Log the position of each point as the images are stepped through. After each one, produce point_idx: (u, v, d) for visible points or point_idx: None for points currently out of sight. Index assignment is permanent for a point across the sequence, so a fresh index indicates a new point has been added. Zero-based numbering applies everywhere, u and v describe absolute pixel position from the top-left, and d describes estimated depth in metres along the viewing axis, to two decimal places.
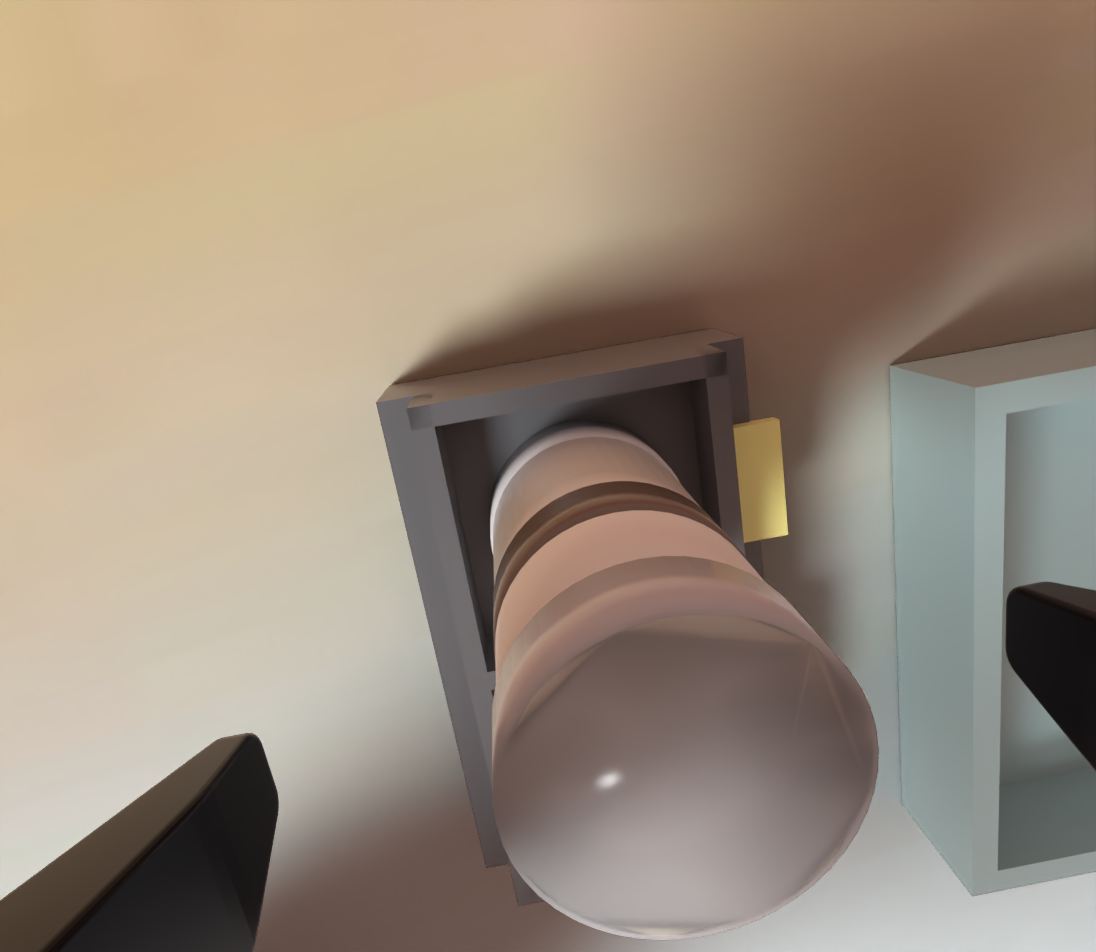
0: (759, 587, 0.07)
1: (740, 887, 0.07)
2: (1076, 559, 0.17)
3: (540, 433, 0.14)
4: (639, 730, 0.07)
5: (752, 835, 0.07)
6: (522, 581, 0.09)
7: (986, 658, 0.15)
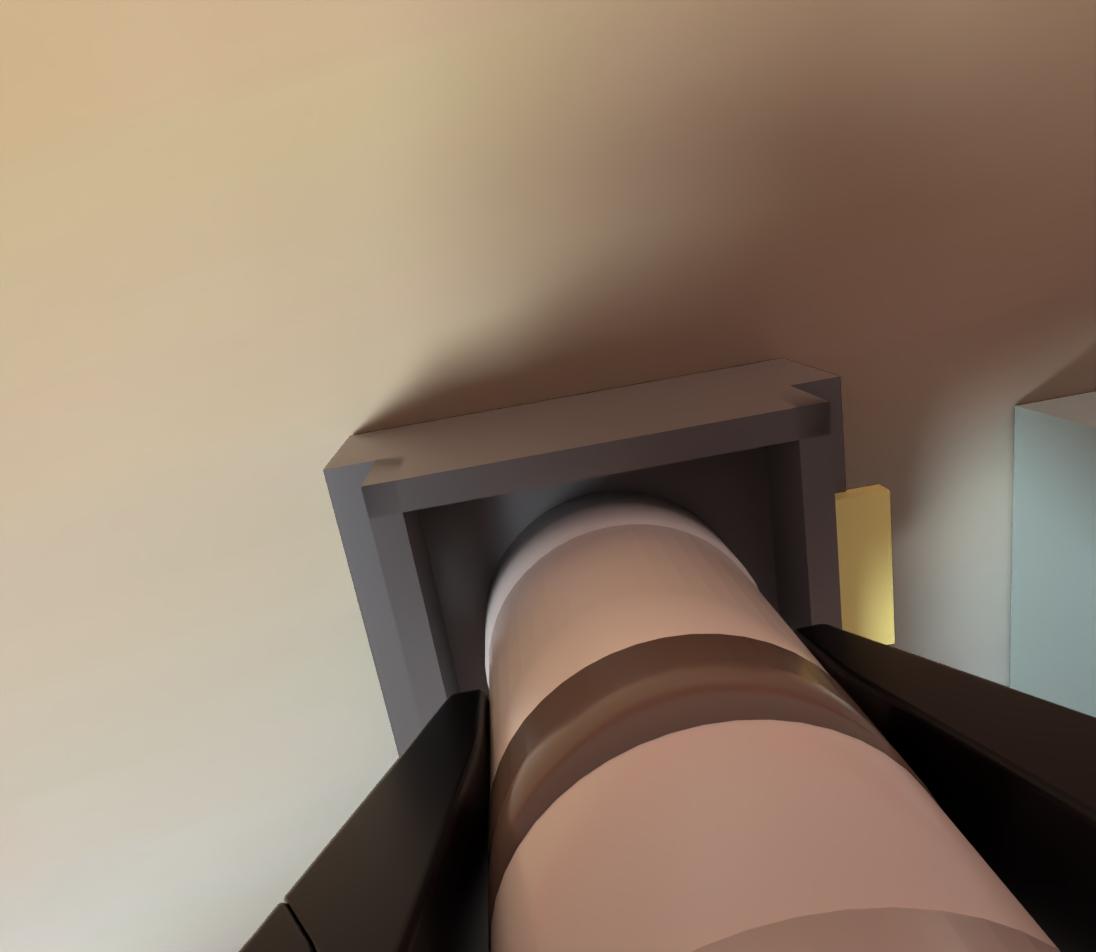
0: None
1: None
2: None
3: (555, 511, 0.10)
4: None
5: None
6: (540, 862, 0.05)
7: None
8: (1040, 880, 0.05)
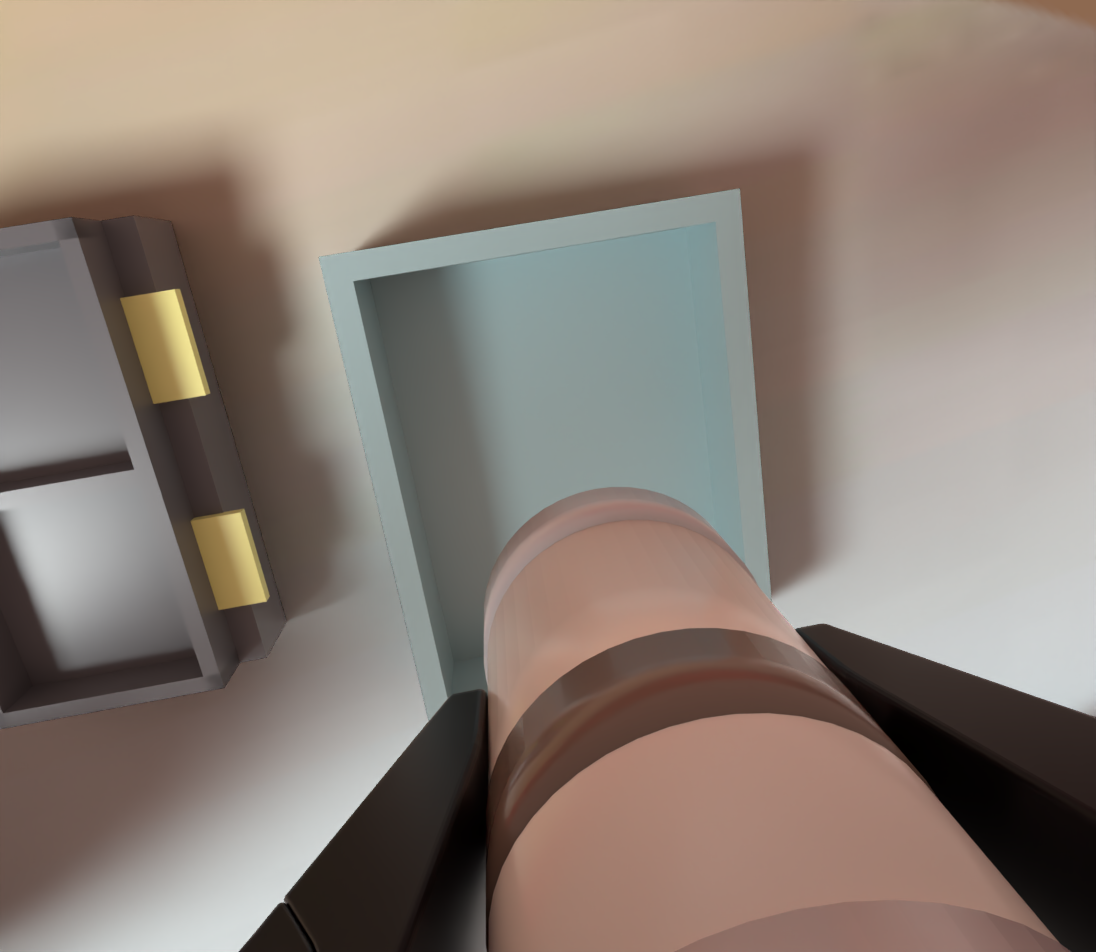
0: None
1: None
2: (539, 438, 0.20)
3: (554, 507, 0.10)
4: None
5: None
6: (537, 856, 0.05)
7: (390, 507, 0.17)
8: (1040, 880, 0.05)
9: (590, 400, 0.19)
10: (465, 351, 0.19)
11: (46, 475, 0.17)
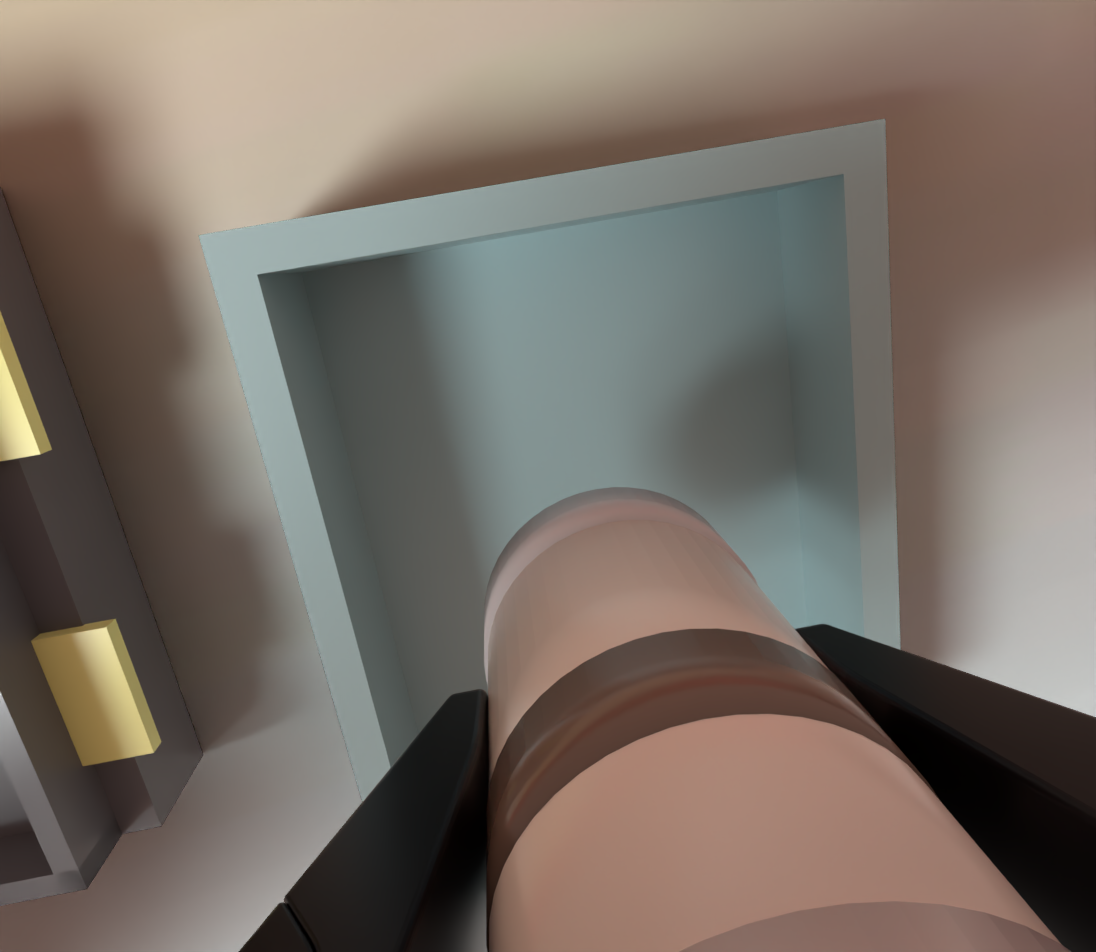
0: None
1: None
2: (557, 501, 0.13)
3: (555, 507, 0.10)
4: None
5: None
6: (538, 857, 0.05)
7: (329, 623, 0.11)
8: (1040, 880, 0.05)
9: (631, 447, 0.13)
10: (447, 378, 0.13)
11: None
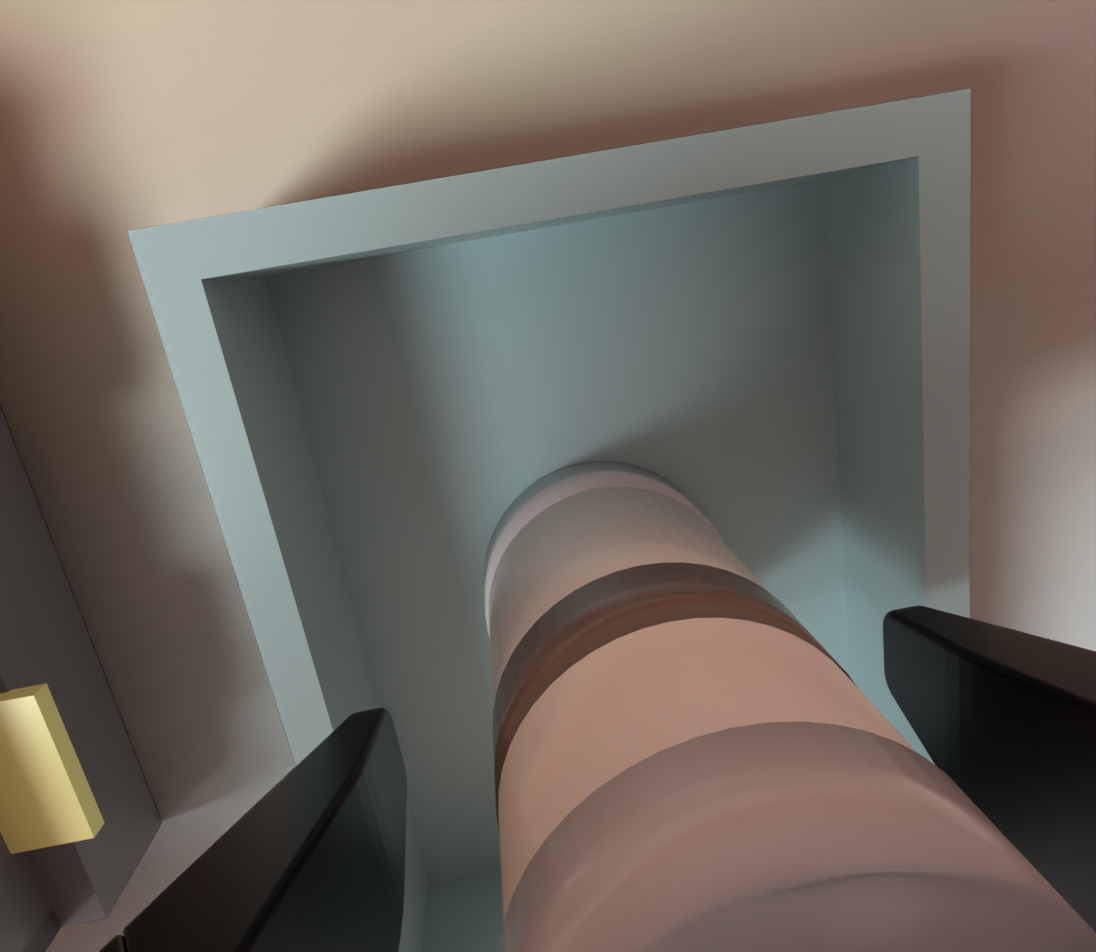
0: (928, 779, 0.05)
1: None
2: None
3: (546, 479, 0.11)
4: None
5: None
6: (539, 727, 0.06)
7: (296, 694, 0.09)
8: None
9: None
10: (437, 399, 0.11)
11: None
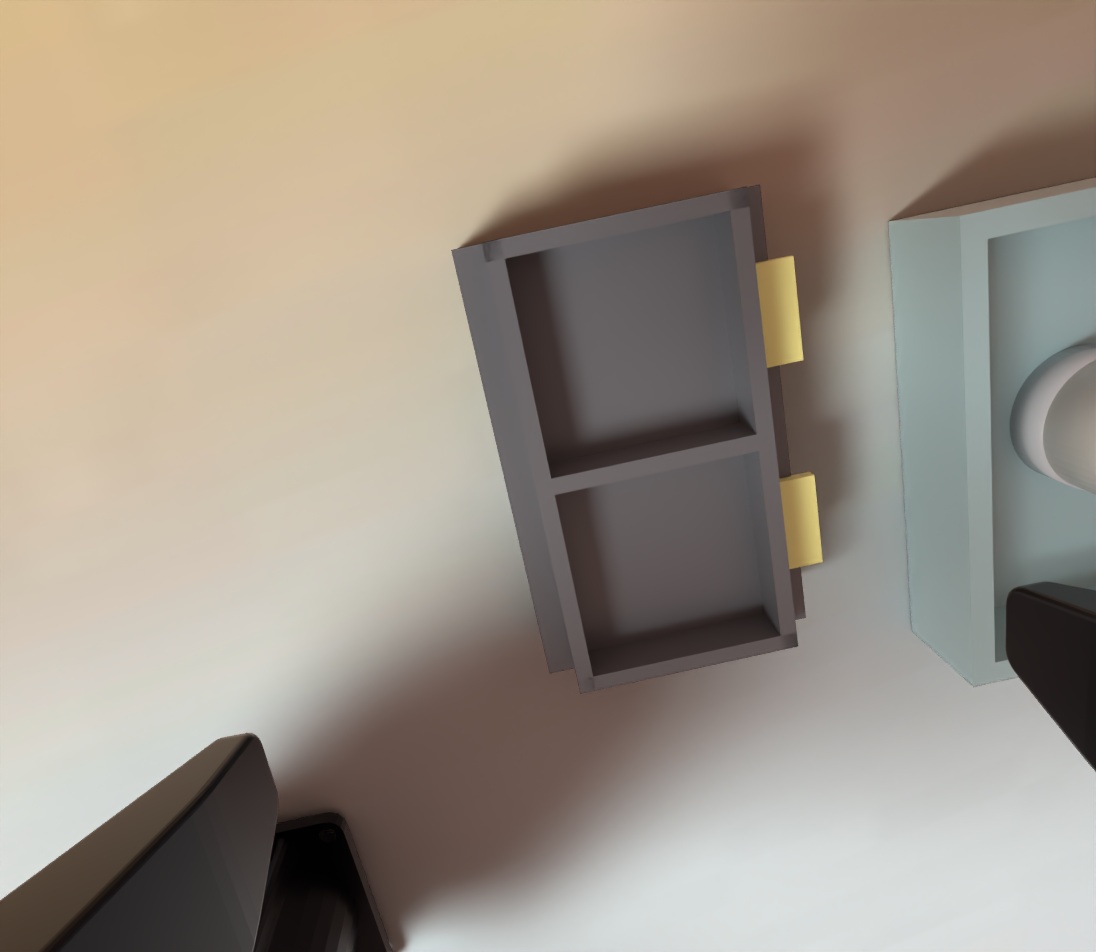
0: None
1: None
2: None
3: (1060, 354, 0.19)
4: None
5: None
6: None
7: (978, 463, 0.18)
8: None
9: None
10: (1004, 309, 0.19)
11: (637, 445, 0.18)
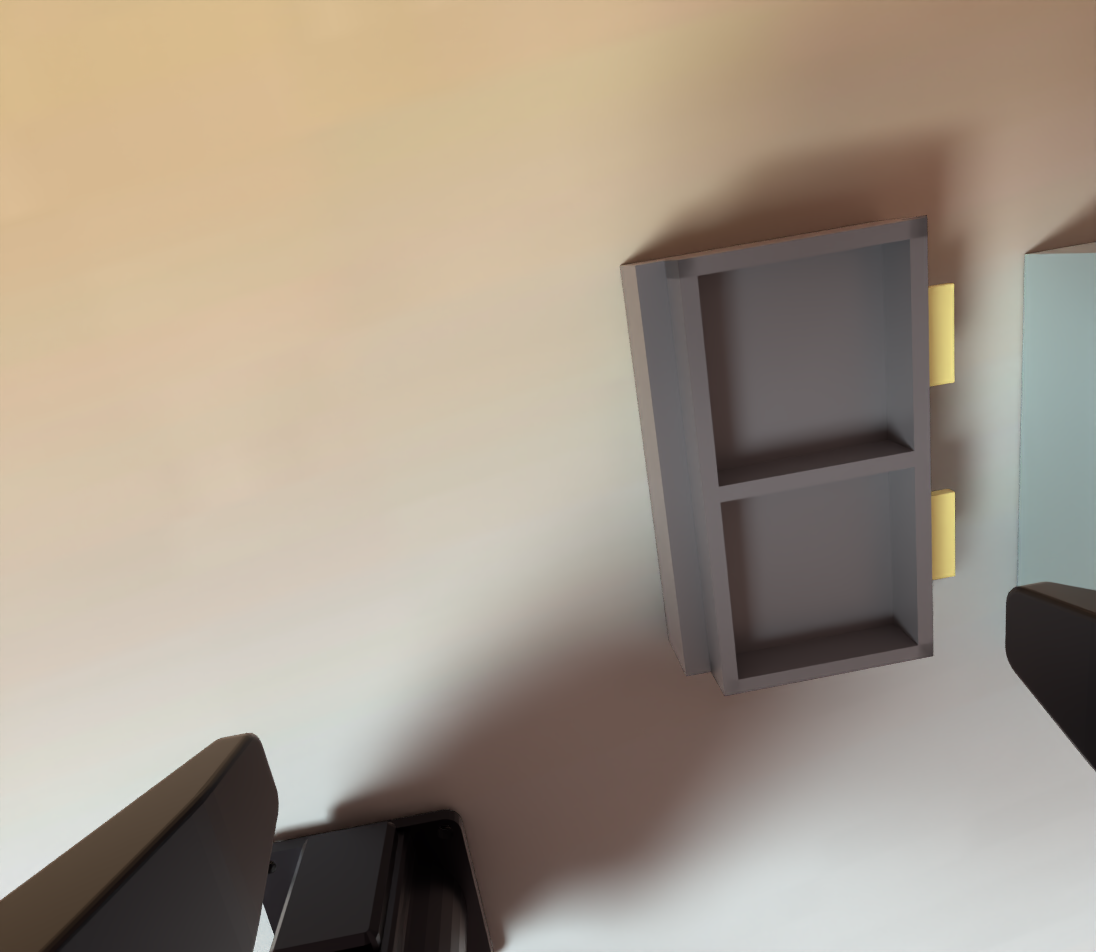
0: None
1: None
2: None
3: None
4: None
5: None
6: None
7: None
8: None
9: None
10: None
11: (791, 457, 0.19)
